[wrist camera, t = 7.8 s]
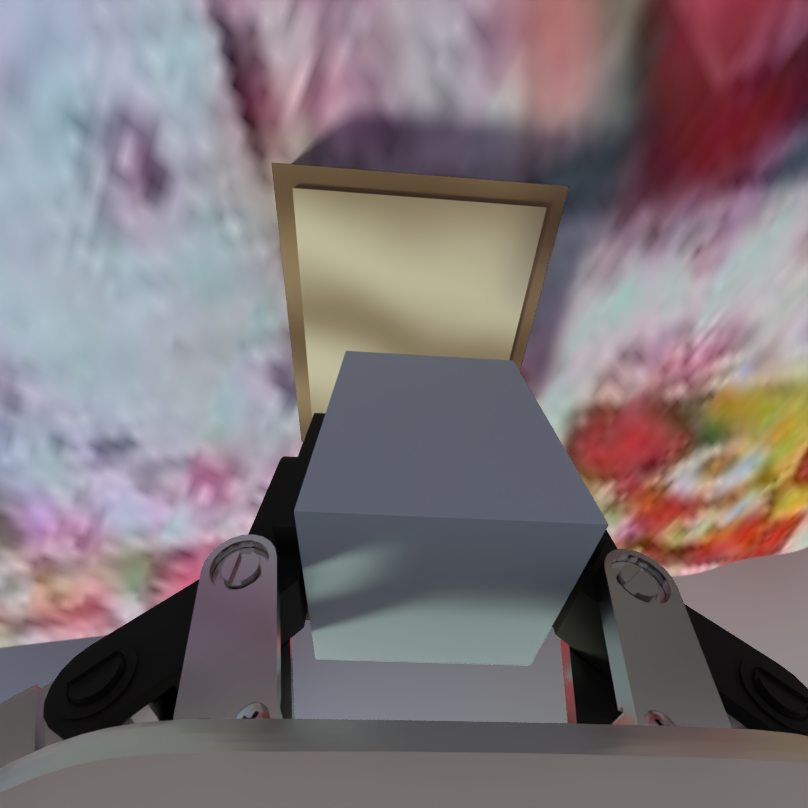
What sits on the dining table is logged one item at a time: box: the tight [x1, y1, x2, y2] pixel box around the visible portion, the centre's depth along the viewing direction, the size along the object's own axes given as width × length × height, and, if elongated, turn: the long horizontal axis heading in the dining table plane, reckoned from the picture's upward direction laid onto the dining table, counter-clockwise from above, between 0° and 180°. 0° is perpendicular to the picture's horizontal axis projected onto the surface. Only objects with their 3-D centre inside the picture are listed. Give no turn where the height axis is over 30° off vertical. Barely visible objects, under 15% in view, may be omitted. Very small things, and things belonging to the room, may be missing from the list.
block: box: [294, 351, 608, 666], centre depth 10 cm, size 5×5×6 cm
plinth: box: [272, 163, 569, 442], centre depth 19 cm, size 14×12×3 cm
